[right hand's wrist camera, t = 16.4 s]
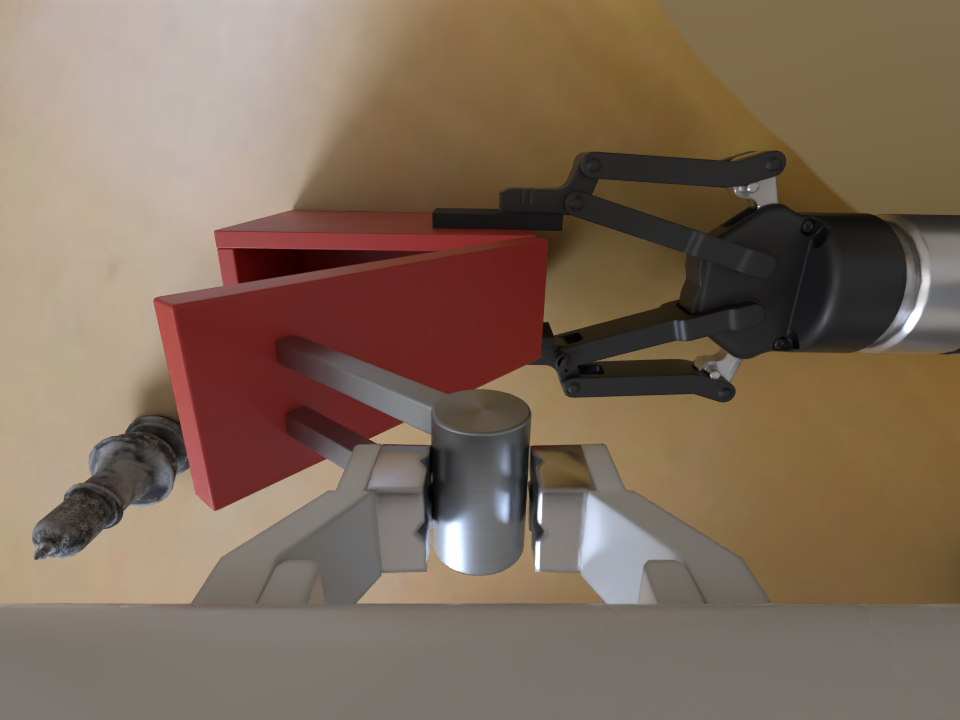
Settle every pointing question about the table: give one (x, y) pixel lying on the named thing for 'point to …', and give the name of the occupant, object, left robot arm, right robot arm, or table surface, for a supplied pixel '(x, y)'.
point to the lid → (369, 381)
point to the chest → (336, 241)
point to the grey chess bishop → (114, 485)
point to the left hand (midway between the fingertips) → (436, 278)
